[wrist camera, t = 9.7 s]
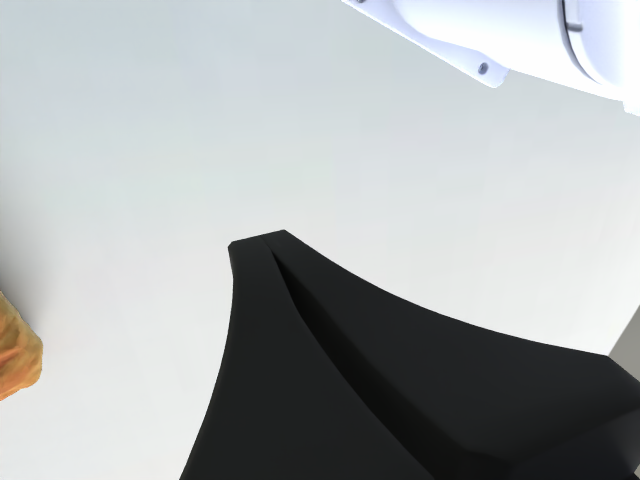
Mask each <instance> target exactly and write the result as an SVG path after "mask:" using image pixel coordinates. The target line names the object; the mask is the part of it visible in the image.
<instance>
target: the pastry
mask: <svg viewBox="0 0 640 480" xmlns="http://www.w3.org/2000/svg"><path fill="white" fill-rule="evenodd" d="M42 354H43V344H42V341H41V339H40V338H39V337H38V336H37V335H36V334H35V333H34V332H33V330H31V328H30V326H29V325H28V324H27V323H26V322H25V321H24V320H22V318H21V317H20V314H19V312H18V310H17V309H16V308H15V307H14V306H13V305H12V304H11V303H10V302H9V301H8V300H7V299H6V298H5V296H4V295H3V293H2V292H1V290H0V401H1V400H3V399H5V398H6V397H8V396H10V395H12V394H14V393H15V392H17V391H18V390H20V389H22V388H27V387H29V386H31V385H33V384H34V383H36V382H37V381H38V379H39V377H40V374H41V370H42Z"/></svg>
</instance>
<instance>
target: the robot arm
mask: <svg viewBox="0 0 640 480" xmlns="http://www.w3.org/2000/svg"><path fill="white" fill-rule="evenodd" d="M341 1H343V2H344V3H346V4H348V5H350V6H351V7H353V8H355V9H356V10H358V11H360V12H362V13H363V14H365V15H367V16H368V17H370V18H372V19H374V20H375V21H377V22H379V23H380V24H382V25H384V26H386V27H387V28H389V29H391V30H392V31H394V32H396V33H398V34H399V35H401V36H403V37H404V38H406V39H408V40H410V41H411V42H413V43H415V44H416V45H418V46H420V47H422V48H423V49H425V50H427V51H428V52H430V53H432V54H434V55H435V56H437V57H439V58H441V59H442V60H444V61H446V62H447V63H449V64H451V65H453V66H454V67H456V68H458V69H459V70H461V71H463V72H465V73H466V74H468V75H470V76H471V77H473V78H475V79H477V80H478V81H480V82H482V83H483V84H485V85H487V86H490V87H493V88H495V87H498V86H499V85H501V83H502V82H503V81H504V79H505V77H506V76H507V74H508V72H509V71H510V69H513V70H516V71H520V72H523V73H526V74H530V75H533V76H536V77H539V78H543V79H546V80H549V81H553V82H556V83H559V84H563V85H566V86H569V87H572V88H576V89H579V90H582V91H586V92H589V93H592V94H596V95H599V96H602V97H606V98H610V99H616V100H623V104H624V109H625V112H628V113H631V114H635V115H638V116H640V0H359V1H358V0H341ZM482 63H483V67H482V69H481V70H480V72H479V67H480V65H481V64H482ZM228 251H229V257H230V263H231V268H232V274H233V298H232V308H231V315H230V322H229V329H228V335H227V340H226V345H225V349H224V354H223V358H222V362H221V366H220V370H219V373H218V377H217V380H216V383H215V387H214V390H213V393H212V397H211V400H210V403H209V406H208V409H207V412H206V415H205V417H204V420H203V423H202V425H201V428H200V430H199V433H198V435H197V438H196V440H195V443H194V445H193V448H192V450H191V453H190V455H189V458H188V460H187V463H186V465H185V468H184V470H183V472H182V474H181V477H180V479H179V480H640V479H639V478H638V477H637V476H636V475H635V474H634V472H635V470H636V469H637V467H638V466H639V464H640V382H639V381H638V380H637V379H635V378H634V377H633V376H632V375H630V374H629V373H628V372H627V371H626V370H624V369H623V368H622V367H621V366H619V365H618V364H617V363H616V362H614V361H613V360H612V359H611V358H609V357H608V356H606V355H600V354H595V353H590V352H585V351H580V350H575V349H569V348H564V347H559V346H554V345H549V344H544V343H539V342H535V341H530V340H526V339H522V338H519V337H515V336H511V335H507V334H503V333H499V332H495V331H492V330H488V329H485V328H482V327H478V326H475V325H472V324H469V323H466V322H463V321H460V320H457V319H454V318H451V317H448V316H445V315H442V314H439V313H437V312H434V311H431V310H429V309H426V308H423V307H421V306H419V305H416V304H414V303H412V302H409V301H407V300H405V299H402V298H400V297H398V296H395V295H393V294H391V293H389V292H387V291H385V290H383V289H381V288H379V287H377V286H375V285H373V284H371V283H369V282H367V281H366V280H364V279H362V278H360V277H358V276H356V275H354V274H353V273H351V272H349V271H347V270H346V269H344V268H342V267H341V266H339V265H337V264H336V263H334V262H333V261H331V260H329V259H328V258H326V257H325V256H323V255H322V254H320V253H319V252H317V251H316V250H314V249H313V248H311V247H310V246H308V245H307V244H305V243H304V242H302V241H301V240H299V239H298V238H296V237H295V236H293V235H292V234H290V233H289V232H287V231H286V230H280V231H276V232H271V233H267V234H263V235H258V236H254V237H250V238H246V239H241V240H237V241H233V242H231V244H230V245H229V246H228Z"/></svg>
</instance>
